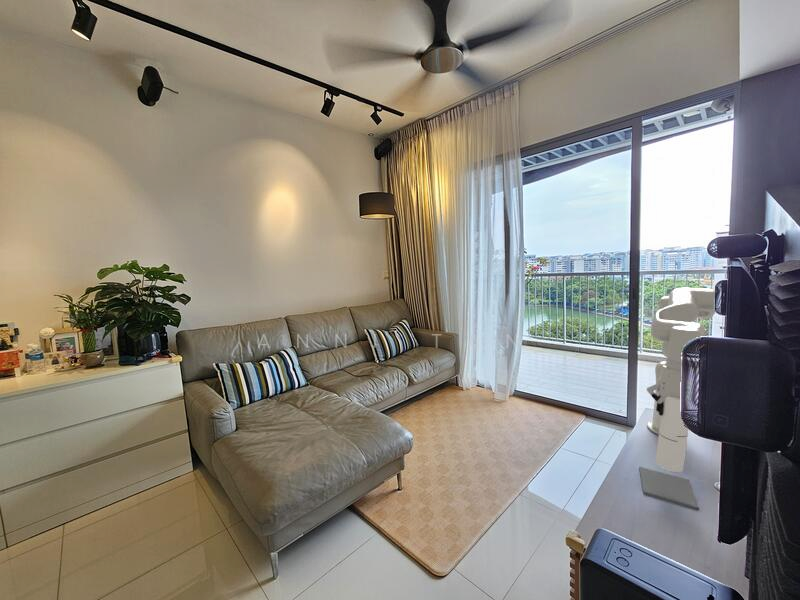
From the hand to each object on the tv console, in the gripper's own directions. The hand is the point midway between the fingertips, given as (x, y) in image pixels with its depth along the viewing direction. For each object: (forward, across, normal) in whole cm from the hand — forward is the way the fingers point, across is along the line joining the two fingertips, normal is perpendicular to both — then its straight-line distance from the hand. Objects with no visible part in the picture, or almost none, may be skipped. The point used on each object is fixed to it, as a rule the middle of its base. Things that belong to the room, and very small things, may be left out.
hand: (675, 416), depth 107 cm
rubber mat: (+26, 0, 0) cm, 26 cm away
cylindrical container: (+18, 0, 0) cm, 18 cm away
